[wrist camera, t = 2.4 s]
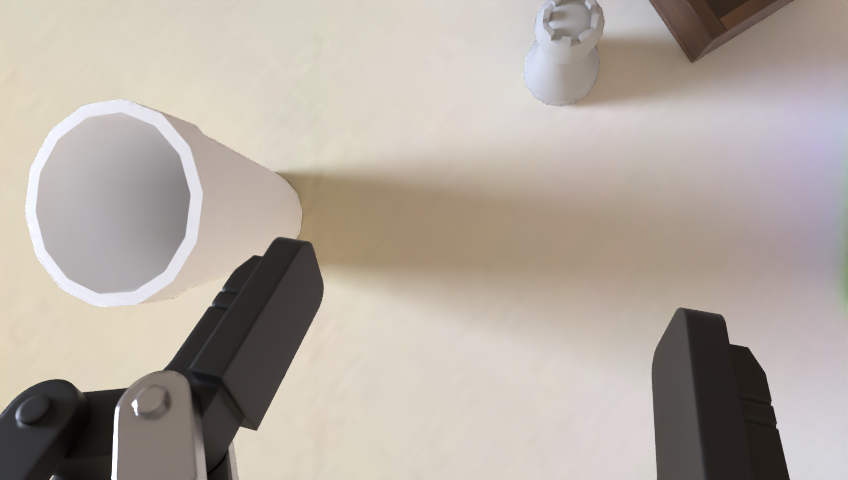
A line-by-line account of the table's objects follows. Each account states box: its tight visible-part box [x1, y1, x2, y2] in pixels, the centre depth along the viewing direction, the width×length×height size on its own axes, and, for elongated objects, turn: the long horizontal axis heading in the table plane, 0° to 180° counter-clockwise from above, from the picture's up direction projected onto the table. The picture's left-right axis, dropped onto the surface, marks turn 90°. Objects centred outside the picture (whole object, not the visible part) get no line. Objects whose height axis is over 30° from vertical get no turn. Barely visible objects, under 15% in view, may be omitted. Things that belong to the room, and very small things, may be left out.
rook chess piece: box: [523, 0, 605, 106], centre depth 27 cm, size 4×4×8 cm
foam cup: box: [25, 99, 303, 307], centre depth 29 cm, size 10×9×13 cm
